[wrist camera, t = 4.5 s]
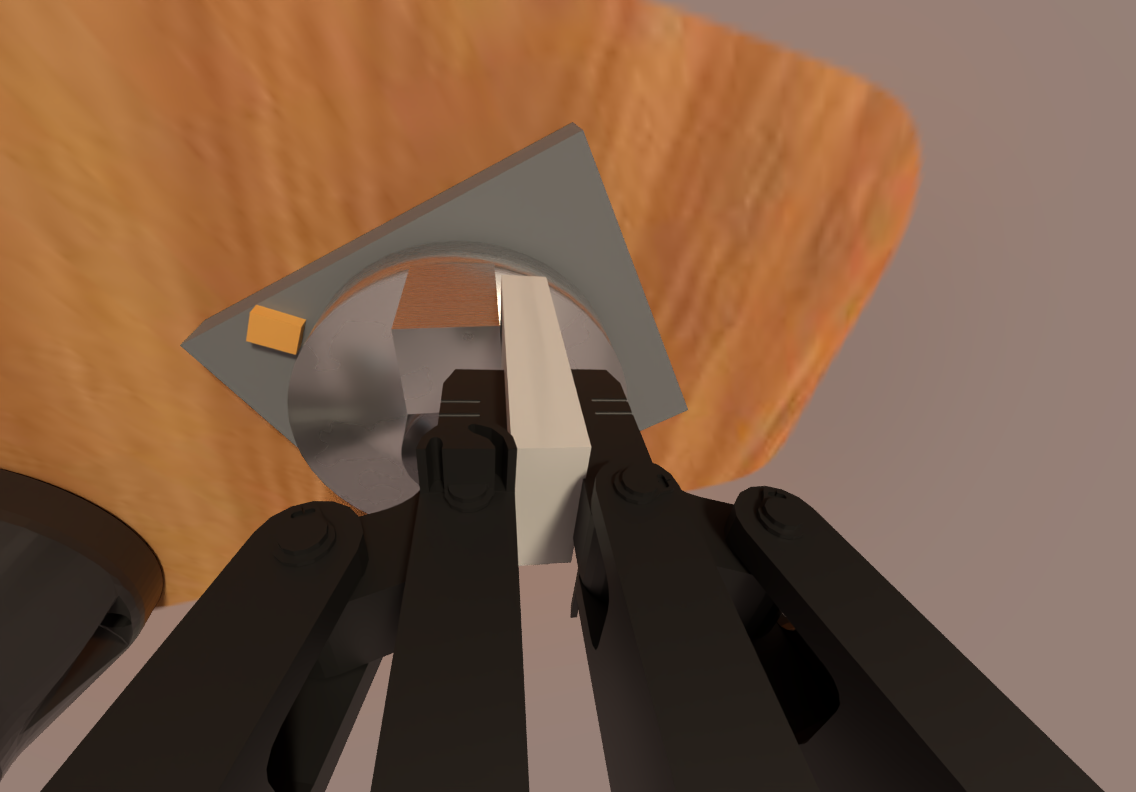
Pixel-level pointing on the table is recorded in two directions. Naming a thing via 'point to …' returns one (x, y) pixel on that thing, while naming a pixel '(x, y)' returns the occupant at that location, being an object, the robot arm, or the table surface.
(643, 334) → the gray square base plate
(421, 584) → the robot arm
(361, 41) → the table surface
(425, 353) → the silver metal dome
